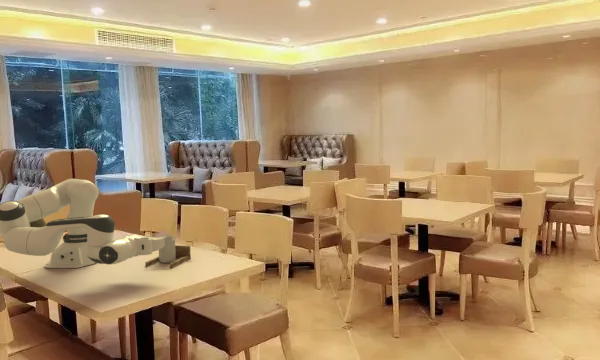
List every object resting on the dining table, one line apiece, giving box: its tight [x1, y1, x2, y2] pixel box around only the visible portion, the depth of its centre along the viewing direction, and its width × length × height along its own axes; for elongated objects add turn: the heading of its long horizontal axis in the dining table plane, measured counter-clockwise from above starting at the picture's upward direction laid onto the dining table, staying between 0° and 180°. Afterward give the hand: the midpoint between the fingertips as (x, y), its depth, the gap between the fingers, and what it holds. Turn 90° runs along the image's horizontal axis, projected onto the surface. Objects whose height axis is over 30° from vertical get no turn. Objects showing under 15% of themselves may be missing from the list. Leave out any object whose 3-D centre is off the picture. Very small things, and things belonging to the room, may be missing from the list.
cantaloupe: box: [29, 218, 47, 227], centre depth 288 cm, size 14×14×15 cm
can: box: [158, 234, 177, 264], centre depth 235 cm, size 8×8×12 cm
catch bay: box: [144, 244, 192, 269], centre depth 234 cm, size 17×13×6 cm
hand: (150, 238), depth 218 cm, fingers closed
